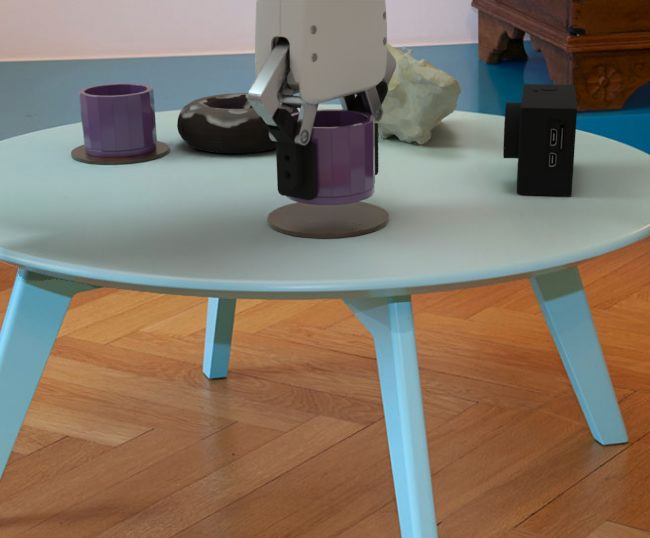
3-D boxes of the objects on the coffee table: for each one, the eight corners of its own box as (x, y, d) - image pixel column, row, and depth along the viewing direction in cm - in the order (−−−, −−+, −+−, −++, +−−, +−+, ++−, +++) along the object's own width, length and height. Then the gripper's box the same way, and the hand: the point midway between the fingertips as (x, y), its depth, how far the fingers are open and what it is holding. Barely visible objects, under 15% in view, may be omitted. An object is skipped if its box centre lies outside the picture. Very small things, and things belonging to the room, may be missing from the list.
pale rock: (320, 95, 114) (366, 38, 114) (397, 162, 116) (443, 106, 116) (348, 87, 97) (403, 20, 96) (438, 166, 99) (493, 100, 98)
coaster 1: (127, 168, 100) (127, 165, 99) (50, 157, 104) (50, 154, 104) (188, 147, 107) (188, 144, 107) (114, 138, 111) (114, 135, 111)
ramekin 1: (126, 160, 101) (120, 98, 99) (69, 153, 104) (63, 93, 102) (171, 145, 106) (167, 86, 104) (116, 138, 109) (111, 81, 107)
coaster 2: (352, 245, 78) (352, 241, 78) (244, 227, 83) (243, 223, 83) (409, 212, 86) (409, 208, 86) (307, 197, 90) (307, 194, 90)
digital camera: (506, 162, 99) (509, 82, 96) (569, 164, 98) (575, 83, 96) (501, 194, 90) (504, 106, 87) (571, 196, 89) (577, 107, 86)
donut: (313, 152, 104) (312, 109, 102) (184, 161, 102) (181, 117, 100) (289, 126, 114) (288, 86, 113) (172, 134, 112) (170, 93, 111)
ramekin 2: (347, 209, 79) (345, 131, 77) (267, 198, 82) (264, 123, 80) (390, 187, 84) (390, 113, 82) (313, 177, 88) (312, 106, 86)
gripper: (353, -80, 85) (356, 154, 92) (194, -66, 72) (211, 205, 79) (439, -79, 81) (435, 166, 87) (286, -64, 68) (295, 222, 75)
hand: (329, 183), depth 83 cm, fingers closed on ramekin 2, 6 cm apart
